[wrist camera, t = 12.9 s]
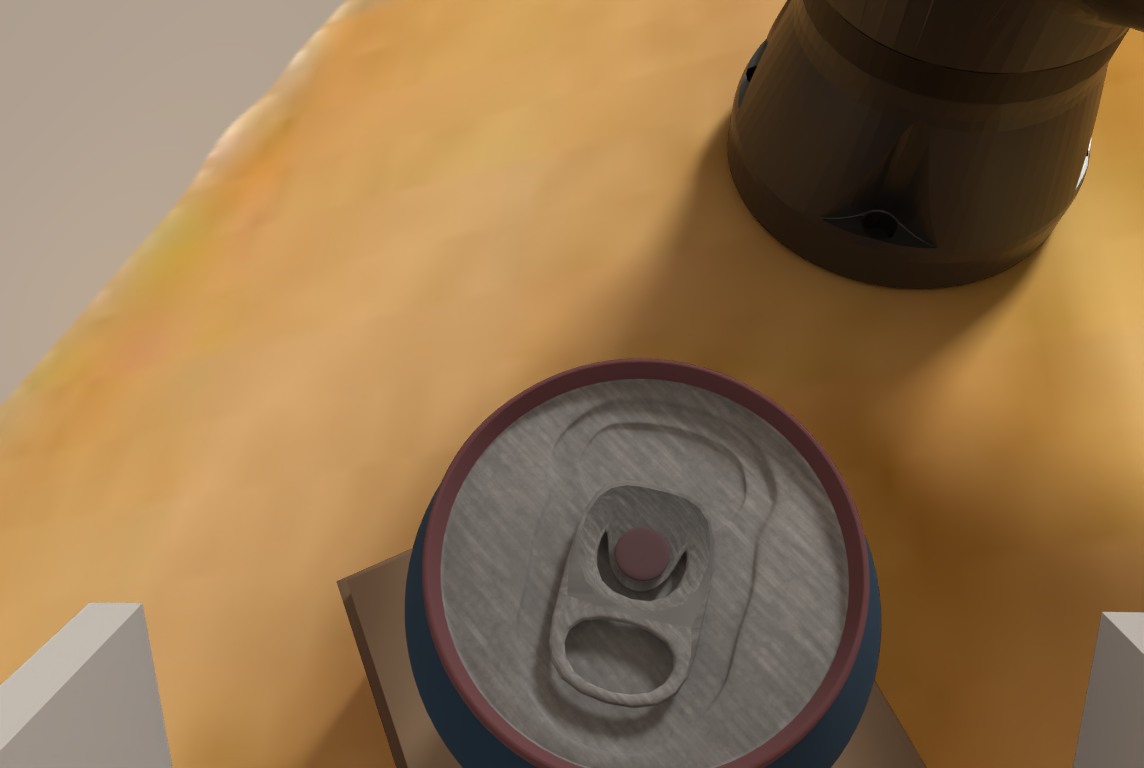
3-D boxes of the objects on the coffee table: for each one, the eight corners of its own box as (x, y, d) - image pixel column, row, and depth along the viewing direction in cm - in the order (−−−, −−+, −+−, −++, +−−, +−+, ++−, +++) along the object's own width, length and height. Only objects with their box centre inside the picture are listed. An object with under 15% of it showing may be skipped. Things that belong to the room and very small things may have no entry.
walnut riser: (696, 499, 32) (720, 403, 25) (878, 827, 27) (971, 822, 20) (393, 635, 31) (328, 573, 23) (525, 1017, 25) (491, 1086, 18)
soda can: (535, 531, 24) (472, 279, 13) (789, 595, 23) (942, 375, 12) (453, 802, 21) (284, 757, 10) (742, 891, 20) (893, 944, 9)
